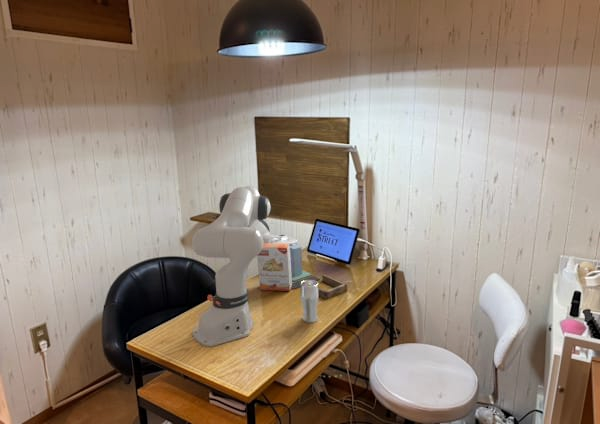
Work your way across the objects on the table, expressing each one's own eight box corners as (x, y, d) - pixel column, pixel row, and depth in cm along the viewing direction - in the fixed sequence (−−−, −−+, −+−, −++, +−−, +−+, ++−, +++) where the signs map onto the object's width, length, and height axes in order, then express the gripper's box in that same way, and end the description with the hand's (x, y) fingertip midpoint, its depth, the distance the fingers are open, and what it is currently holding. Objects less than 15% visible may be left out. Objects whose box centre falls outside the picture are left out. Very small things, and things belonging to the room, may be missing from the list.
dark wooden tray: (326, 299, 176) (326, 292, 175) (304, 287, 187) (303, 281, 186) (347, 290, 183) (347, 284, 182) (324, 280, 195) (324, 274, 194)
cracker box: (259, 290, 186) (255, 247, 180) (263, 284, 191) (259, 242, 186) (290, 291, 183) (287, 247, 177) (292, 285, 189) (289, 242, 183)
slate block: (294, 276, 198) (293, 249, 195) (289, 273, 202) (287, 246, 198) (302, 274, 201) (301, 246, 197) (296, 271, 204) (295, 244, 201)
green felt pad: (293, 281, 194) (293, 280, 194) (280, 274, 202) (280, 273, 202) (311, 275, 201) (311, 274, 200) (297, 268, 209) (297, 267, 209)
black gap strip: (293, 289, 186) (293, 288, 186) (286, 286, 190) (286, 285, 189) (319, 279, 195) (319, 278, 195) (312, 276, 199) (312, 275, 199)
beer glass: (307, 325, 155) (306, 288, 152) (297, 317, 161) (296, 282, 157) (322, 319, 159) (322, 283, 155) (312, 312, 165) (311, 277, 161)
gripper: (255, 242, 207) (270, 250, 197) (287, 233, 219) (304, 240, 209) (256, 254, 209) (271, 262, 198) (288, 244, 221) (304, 251, 210)
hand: (288, 250), depth 204 cm, fingers open, 8 cm apart
